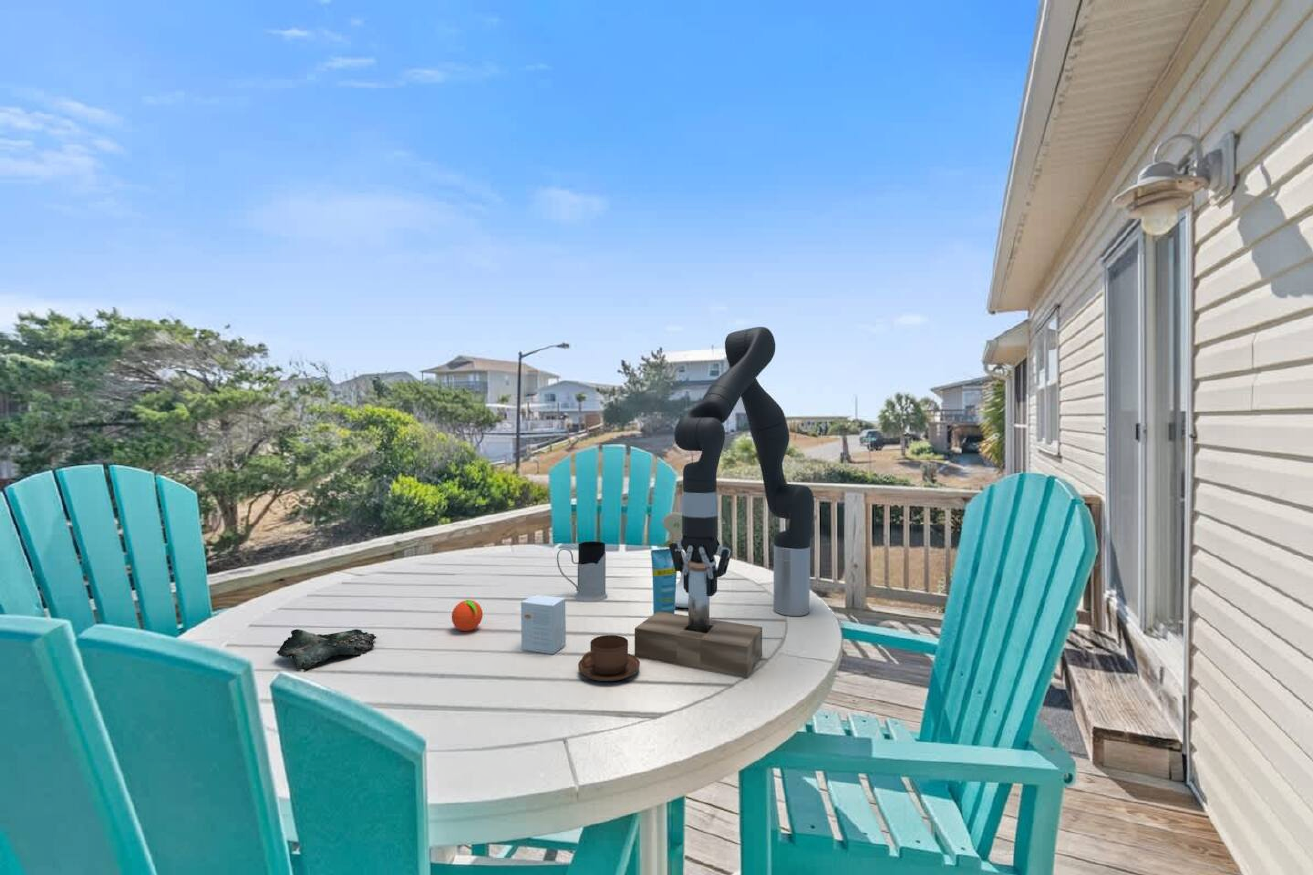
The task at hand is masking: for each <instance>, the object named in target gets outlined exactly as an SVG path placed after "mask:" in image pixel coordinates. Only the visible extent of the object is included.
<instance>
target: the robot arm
mask: <svg viewBox="0 0 1313 875" xmlns="http://www.w3.org/2000/svg"><path fill="white" fill-rule="evenodd" d="M724 351H725V356H726V359H727V363H728V365H729V369H727V370H726V371H725V372H724V373H722V374H721V375H720V376H718V377H717V378H716V379H715V380H714V381H713V382H712V383H711V384H710V386H709V388H708V389H707V391H706V392H705V393H704V395H703V397H702V398H701V400H700V401H699V402H698V403H696V404H695V405H694V406H693V407H692V408H690V409H689V410H688V411H687V412H686V413H685V414H684V415H682V416H681V418H680V419H679V420H678V422H677V423H676V426H675V429H674V436H673V437H674V442H675V444H676V445H677V446H678V448H680V450H683V451H686V452H701V454H700V457H699V459H698V461H695V462H694V461H693V462H689V463H686V464H685V465H684V466H683V469H682V470H683V471H682V498H681V513H682V534H681V535H682V538H681V540H680V541H677V542H676V541H673V543H671V544H670V545H669V547H668V548H670V552H671V556H672V560H673V564H674V568H675V570H676V571H677V572H680V574H681V573H683V576H684V590H686V593H689V568H688V561H700V562H703V563H705V564H706V568H708V569H707V574H708V577H709V578H708V596H710V597H713V596H715V594H716V593H717V591H718V579H719V578H721V577H722V576H724V575H726V573H727V570H728V567H729V564H730V563H729V562H730V559H731V557H732V552H733V549H732V547H731V546H729V547H725V546H722V545H720V542H719V538H718V535H719V509H718V508H719V504H718V502H719V501H718V494H717V490H718V489H717V487H718V486H717V483H718V482H717V478H718V477H717V474H718V473H717V472H718V467H719V464H720V458H721V454H722V451H723V448H724V446H725V445H724V444H725V439H726V431H725V427H724V425H723V423H725V422H727V420H728V419H729V417H730V415H731V413H732V412H733V411H734V408H735V407H736V405H737V403H738V402H739V400H740V399H741V400H742V404H743V408H744V411H745V414H746V419H747V422H748V427H749V430H750V434H751V438H752V441H753V444H754V448H755V451H756V455H757V458H758V463H759V467H760V470H761V471H760V472H761V474H762V480H763V486H764V491H765V492H764V493H765V499H766V503H767V506H768V509H769V511H770V513H771V514H772V515H773V516H774V517H776V518H780V519H785V520H789V523H788V524H789V525H788V528H787V529H785V530H782V531H779V532H776V533H775V534H774V536H773V594H772V595H773V597H772V598H773V599H772V601H773V602H772V603H773V604H772V605H773V606H772V608H773V611H774V612H775V613H777V614H780V615H783V616H790V617H801V616H802V617H803V616H806V615H808V614H810V595H811V594H810V593H811V592H810V590H811V588H810V586H811V585H810V584H811V581H810V580H811V578H810V577H811V569H810V568H811V540H812V536H813V531H814V530H813V529H814V514H815V498H814V494H813V491H812V489H811V488H810V487H809V486H807V485H804V484H803V485H802V484H793V483H787V481H786V477H785V474H784V470H783V469H784V468H783V462H784V459H785V458H784V457H785V455H786V452H787V450H788V448H789V442H790V429H789V426H788V423H787V419H786V415H785V412H784V410H783V409H782V407H781V406H780V405H779V404H778V403H777V401H776V400H775V399H774V398H773V397H772V396H771V395H770V394H769V393H768V392H767V391H766V390H765V388H764V387H762V385H761V384H760V383H759V381H758V379H757V378H758V376H759V375H760V373H762V372H763V371H764V369H765V368H766V367H767V366H768V365H769V364H770V363H771V361H772V360H773V359H774V356H775V352H776V340H775V338H774V335H773V333H772V332H771V330H770V329H769V328H768V327H765V326H757V327H751V328H746V329H741V330H736V331H733V332H730V333H729V334H727V336H726V337H725V340H724ZM682 548H683V549H682ZM681 551H683V552H685V553H686V557H685V561H683V557H682V553H681ZM716 553H718V557H719V558H720V559H719V561H718V566H717V560H716V557H715V555H716ZM709 561H711V563H710V562H709Z"/></svg>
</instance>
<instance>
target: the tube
mask: <svg viewBox="0 0 1313 875" xmlns="http://www.w3.org/2000/svg"><path fill="white" fill-rule="evenodd" d="M650 556H651V572H652V573H651V574H652V575H651V576H652V604H653V605H652V606H653V607H652V608H653V614H652V615H654V614H655V613H656V612H658V611H660V612H666V613H673V614H676V612H675V610H676V607H675V594H676V585H677V574H678V571H676V570H675V568H674V564H673V560H672V556H671V552H670V548H669V547H667V548H661V549H651V551H650Z"/></svg>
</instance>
